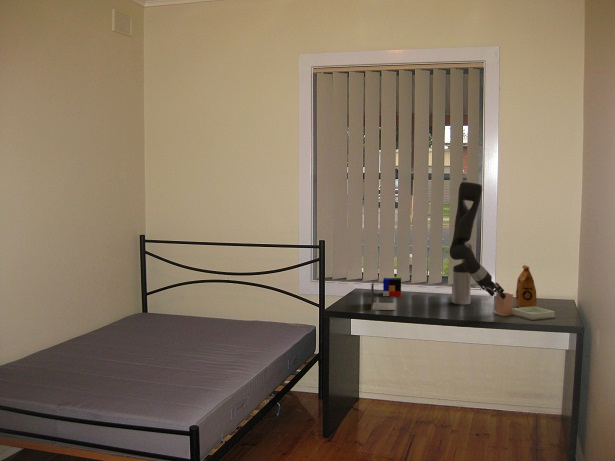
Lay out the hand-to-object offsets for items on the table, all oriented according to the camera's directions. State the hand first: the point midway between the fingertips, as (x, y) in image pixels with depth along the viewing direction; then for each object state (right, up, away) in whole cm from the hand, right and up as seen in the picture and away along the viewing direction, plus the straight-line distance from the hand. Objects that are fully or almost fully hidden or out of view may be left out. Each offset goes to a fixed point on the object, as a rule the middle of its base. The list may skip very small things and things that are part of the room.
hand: (498, 296), depth 314 cm
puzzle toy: (-45, -5, +54) cm, 71 cm away
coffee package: (+19, -8, +15) cm, 25 cm away
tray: (+16, -9, -4) cm, 18 cm away
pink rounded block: (+3, -8, +2) cm, 9 cm away
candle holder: (+3, -9, +2) cm, 10 cm away
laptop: (-54, -8, +20) cm, 59 cm away
